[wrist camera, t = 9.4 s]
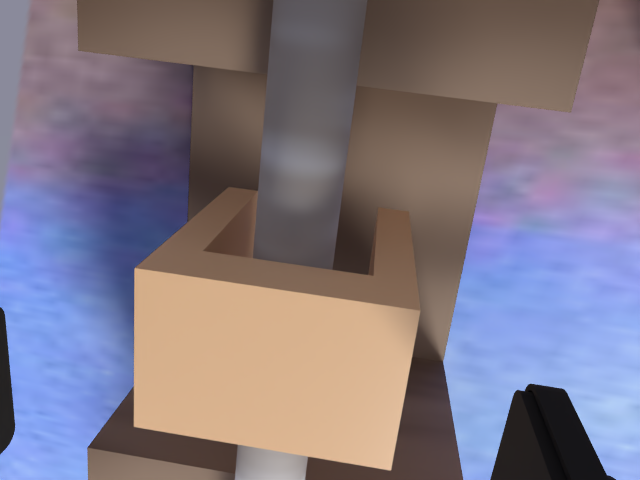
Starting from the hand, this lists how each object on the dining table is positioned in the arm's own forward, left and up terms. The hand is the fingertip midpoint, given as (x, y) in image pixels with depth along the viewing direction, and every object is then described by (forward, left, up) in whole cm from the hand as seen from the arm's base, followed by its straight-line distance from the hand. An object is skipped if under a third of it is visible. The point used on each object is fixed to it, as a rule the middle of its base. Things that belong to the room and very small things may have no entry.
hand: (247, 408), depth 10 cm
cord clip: (+1, 0, -10) cm, 10 cm away
